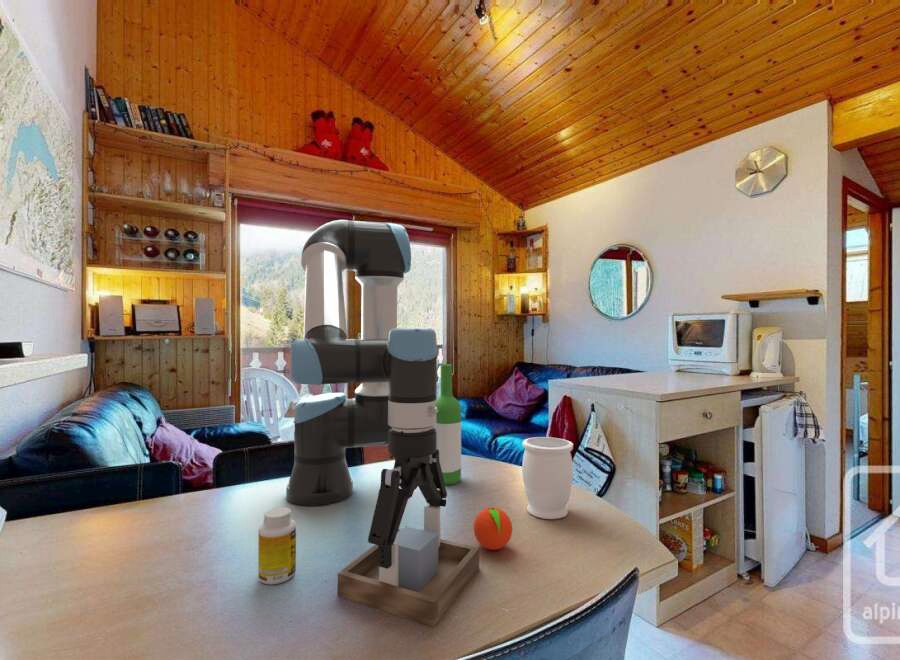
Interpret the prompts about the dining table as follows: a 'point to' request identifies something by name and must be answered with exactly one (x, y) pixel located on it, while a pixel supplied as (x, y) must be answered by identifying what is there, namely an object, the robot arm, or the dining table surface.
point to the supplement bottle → (277, 546)
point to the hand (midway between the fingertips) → (412, 564)
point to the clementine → (492, 528)
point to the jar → (547, 476)
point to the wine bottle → (448, 428)
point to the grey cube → (416, 557)
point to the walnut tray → (418, 606)
